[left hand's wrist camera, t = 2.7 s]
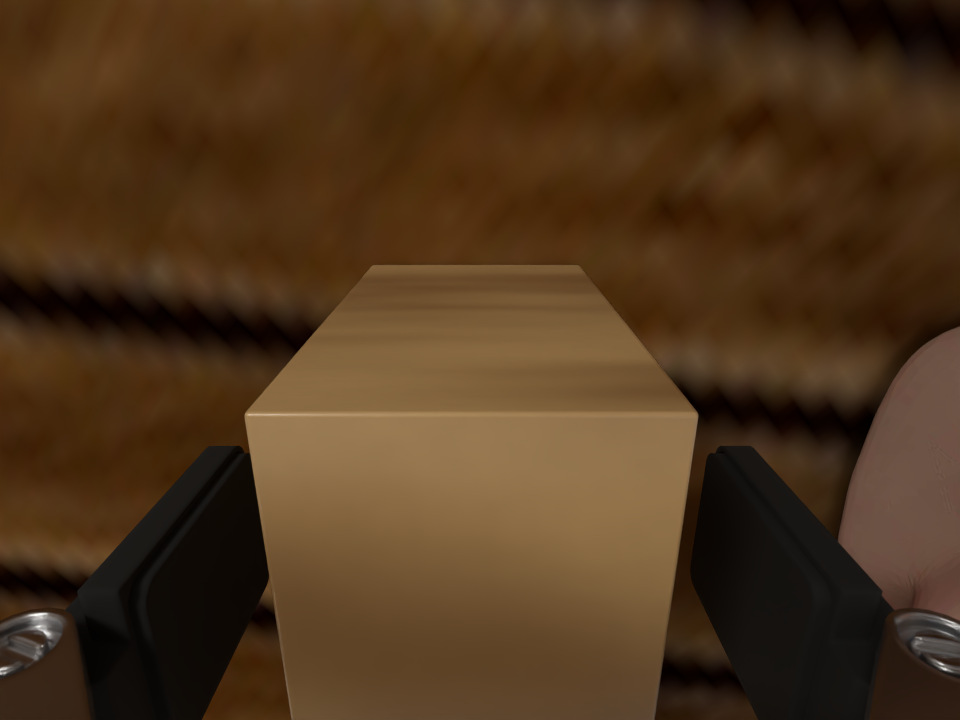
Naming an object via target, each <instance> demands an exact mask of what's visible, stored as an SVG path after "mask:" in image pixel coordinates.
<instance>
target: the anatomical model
mask: <svg viewBox="0 0 960 720" xmlns="http://www.w3.org/2000/svg"><path fill="white" fill-rule="evenodd" d="M838 542H839V543H840V544H841V546H842V547H843V548H844V549H845V550H846V551H847V552H848V553H849V554H850V556H851V557H852V558H853V559H854V560H855V561H856V562H857V563H858V564H859V566H860V567H861V568H862V569H863V570H864V571H865V572H866V573H867V574H868V575H869V577H870V578H871V579H872V580H873V581H874V582H875V583H876V584H877V585H878V587H879V588H880V589H881V590H882V591H883V592H882V596H883V598H884V599H885V600H886V601H887V602H888V603H889V604H890V605H891V607H892V608H893V609H894V610H897V609H903V608H919V609H928V610H931V611H935V612H938V613H942V614H945V615H948V616H950V617H953V618H955V619H957V620H960V326H959V327H956V328H954V329H951V330H949V331H946V332H944V333H942V334H941V335H939V336H937V337H936V338H934V339H932V340H930V341H929V342H927V343H926V344H925V345H923V346H922V347H921V348H920V349H919V350H918V351H916V352H915V353H914V354H913V355H912V356H911V357H910V358H909V359H908V361H907V362H906V363H905V364H904V365H903V367H902V368H901V369H900V371H899V372H898V374H897V375H896V377H895V378H894V379H893V381H892V382H891V384H890V386H889V388H888V390H887V392H886V394H885V396H884V398H883V400H882V402H881V404H880V406H879V408H878V410H877V412H876V414H875V417H874V419H873V422H872V424H871V427H870V430H869V432H868V435H867V437H866V440H865V442H864V445H863V448H862V450H861V453H860V455H859V458H858V460H857V463H856V466H855V468H854V471H853V473H852V477H851V480H850V484H849V487H848V491H847V495H846V500H845V505H844V510H843V515H842V520H841V525H840V530H839V535H838Z"/></svg>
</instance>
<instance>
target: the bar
mask: <svg viewBox="0 0 960 720" xmlns="http://www.w3.org/2000/svg"><path fill="white" fill-rule="evenodd" d="M697 422H698V413H697V411H696V410H695V409H694V407H693V406H692V405H691V404H690V402H689V401H688V400H687V399H686V397H685V396H684V395H683V394H682V393H681V391H680V390H679V389H678V388H677V386H676V385H675V384H674V383H673V381H672V380H671V379H670V378H669V376H668V375H667V374H666V373H665V371H664V370H663V369H662V368H661V366H660V365H659V364H658V363H657V361H656V360H655V359H654V358H653V357H652V355H651V354H650V353H649V352H648V350H647V349H646V348H645V347H644V345H643V344H642V343H641V342H640V340H639V339H638V338H637V337H636V335H635V334H634V333H633V332H632V330H631V329H630V328H629V327H628V325H627V324H626V323H625V322H624V320H623V319H622V318H621V317H620V316H619V314H618V313H617V312H616V311H615V309H614V308H613V307H612V306H611V304H610V303H609V302H608V301H607V299H606V298H605V297H604V296H603V294H602V293H601V292H600V291H599V289H598V288H597V287H596V286H595V284H594V283H593V282H592V281H591V279H590V278H589V277H588V276H587V275H586V273H585V272H584V271H583V270H582V268H581V267H580V266H579V265H373V266H371V268H370V269H369V270H368V271H367V272H366V273H365V275H364V276H363V277H362V278H361V279H360V280H359V282H358V283H357V284H356V285H355V286H354V287H353V288H352V290H351V291H350V292H349V293H348V294H347V295H346V297H345V298H344V299H343V300H342V301H341V302H340V304H339V305H338V306H337V307H336V308H335V309H334V311H333V312H332V313H331V314H330V315H329V316H328V317H327V319H326V320H325V321H324V322H323V323H322V324H321V326H320V327H319V328H318V329H317V330H316V331H315V333H314V334H313V335H312V336H311V337H310V338H309V339H308V341H307V342H306V343H305V344H304V345H303V346H302V348H301V349H300V350H299V351H298V352H297V353H296V355H295V356H294V357H293V358H292V359H291V360H290V361H289V363H288V364H287V365H286V366H285V367H284V368H283V370H282V371H281V372H280V373H279V374H278V375H277V377H276V378H275V379H274V380H273V381H272V382H271V384H270V385H269V386H268V387H267V388H266V389H265V390H264V392H263V393H262V394H261V395H260V396H259V397H258V399H257V400H256V401H255V402H254V403H253V404H252V406H251V407H250V408H249V409H248V410H247V411H246V413H245V423H246V429H247V435H248V442H249V448H250V455H251V461H252V468H253V474H254V480H255V487H256V493H257V500H258V506H259V513H260V519H261V525H262V532H263V538H264V545H265V551H266V558H267V564H268V570H269V577H270V583H271V590H272V596H273V603H274V609H275V615H276V622H277V628H278V635H279V641H280V648H281V654H282V660H283V667H284V673H285V680H286V686H287V693H288V699H289V705H290V712H291V718H292V720H655V713H656V706H657V699H658V692H659V685H660V678H661V671H662V665H663V658H664V651H665V644H666V637H667V630H668V623H669V616H670V609H671V602H672V595H673V588H674V581H675V574H676V567H677V561H678V554H679V547H680V540H681V533H682V526H683V519H684V512H685V505H686V498H687V491H688V484H689V477H690V470H691V463H692V456H693V450H694V443H695V436H696V429H697Z"/></svg>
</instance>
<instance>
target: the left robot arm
mask: <svg viewBox="0 0 960 720" xmlns="http://www.w3.org/2000/svg"><path fill="white" fill-rule="evenodd" d="M690 570H691V579H692V583H693V586H694V588H695V590H696V592H697V594H698V596H699V598H700V600H701V602H702V604H703V607H704V609H705V611H706V613H707V615H708V617H709V619H710V621H711V623H712V625H713V627H714V629H715V631H716V633H717V635H718V638H719V640H720V642H721V644H722V646H723V648H724V650H725V652H726V654H727V656H728V658H729V660H730V662H731V664H732V666H733V668H734V671H735V673H736V675H737V677H738V679H739V681H740V683H741V685H742V687H743V689H744V691H745V693H746V695H747V697H748V699H749V701H750V704H751V706H752V708H753V710H754V712H755V714H756V716H757V718H758V720H960V620H957V619H955V618H953V617H950V616H948V615H945V614H942V613H938V612H935V611H931V610H928V609H919V608H903V609H897V610H894V609H893V608H892V607H891V605H890V604H889V603H888V602H887V601H886V600H885V599H884V598H883V596H882V592H883V591H882V590H881V589H880V588H879V587H878V585H877V584H876V583H875V582H874V581H873V580H872V579H871V578H870V577H869V575H868V574H867V573H866V572H865V571H864V570H863V569H862V568H861V567H860V566H859V564H858V563H857V562H856V561H855V560H854V559H853V558H852V557H851V556H850V554H849V553H848V552H847V551H846V550H845V549H844V548H843V547H842V546H841V544H840V543H839V542H838V541H837V540H836V539H835V538H834V537H833V536H832V535H831V533H830V532H829V531H828V530H827V529H826V528H825V527H824V526H823V525H822V523H821V522H820V521H819V520H818V519H817V518H816V517H815V516H814V515H813V514H812V512H811V511H810V510H809V509H808V508H807V507H806V506H805V505H804V504H803V502H802V501H801V500H800V499H799V498H798V497H797V496H796V495H795V494H794V492H793V491H792V490H791V489H790V488H789V487H788V486H787V485H786V484H785V483H784V481H783V480H782V479H781V478H780V477H779V476H778V475H777V474H776V473H775V471H774V470H773V469H772V468H771V467H770V466H769V465H768V464H767V463H766V461H765V460H764V459H763V458H762V457H761V456H760V455H759V454H758V453H757V452H756V450H755V449H754V448H752V447H751V446H720V447H719V448H718V449H717V451H716V453H710V454H709V455H708V457H707V461H706V467H705V474H704V480H703V487H702V493H701V500H700V507H699V513H698V520H697V526H696V533H695V540H694V546H693V553H692V560H691V568H690ZM268 579H269V570H268V564H267V558H266V551H265V545H264V538H263V532H262V525H261V519H260V513H259V506H258V500H257V493H256V487H255V480H254V474H253V468H252V461H251V455H250V453H244V451H243V449H242V448H241V447H240V446H209V447H208V448H206V449H205V450H204V451H203V453H202V454H201V455H200V456H199V457H198V458H197V459H196V460H195V461H194V463H193V464H192V465H191V466H190V467H189V468H188V469H187V470H186V471H185V473H184V474H183V475H182V476H181V477H180V478H179V479H178V480H177V481H176V482H175V484H174V485H173V486H172V487H171V488H170V489H169V490H168V491H167V492H166V494H165V495H164V496H163V497H162V498H161V499H160V500H159V501H158V502H157V504H156V505H155V506H154V507H153V508H152V509H151V510H150V511H149V512H148V513H147V515H146V516H145V517H144V518H143V519H142V520H141V521H140V522H139V523H138V525H137V526H136V527H135V528H134V529H133V530H132V531H131V532H130V533H129V535H128V536H127V537H126V538H125V539H124V540H123V541H122V542H121V543H120V544H119V546H118V547H117V548H116V549H115V550H114V551H113V552H112V553H111V554H110V556H109V557H108V558H107V559H106V560H105V561H104V562H103V563H102V564H101V566H100V567H99V568H98V569H97V570H96V571H95V572H94V573H93V574H92V575H91V577H90V578H89V579H88V580H87V581H86V582H85V583H84V584H83V585H82V587H81V588H80V589H79V590H78V591H77V593H78V596H77V598H76V599H75V600H74V601H73V602H72V603H71V604H70V605H69V607H68V608H67V609H66V610H63V609H57V608H41V609H32V610H29V611H25V612H22V613H18V614H15V615H12V616H10V617H7V618H5V619H3V620H0V720H202V718H203V716H204V714H205V712H206V710H207V708H208V706H209V703H210V701H211V699H212V697H213V695H214V693H215V691H216V689H217V687H218V685H219V683H220V681H221V679H222V677H223V675H224V673H225V670H226V668H227V666H228V664H229V662H230V660H231V658H232V656H233V654H234V652H235V650H236V648H237V646H238V644H239V642H240V640H241V637H242V635H243V633H244V631H245V629H246V627H247V625H248V623H249V621H250V619H251V617H252V615H253V613H254V611H255V609H256V607H257V604H258V602H259V600H260V598H261V596H262V594H263V592H264V590H265V588H266V586H267V583H268Z"/></svg>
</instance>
